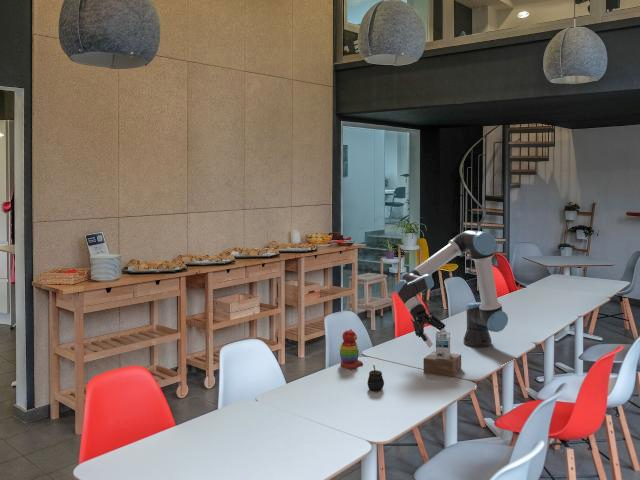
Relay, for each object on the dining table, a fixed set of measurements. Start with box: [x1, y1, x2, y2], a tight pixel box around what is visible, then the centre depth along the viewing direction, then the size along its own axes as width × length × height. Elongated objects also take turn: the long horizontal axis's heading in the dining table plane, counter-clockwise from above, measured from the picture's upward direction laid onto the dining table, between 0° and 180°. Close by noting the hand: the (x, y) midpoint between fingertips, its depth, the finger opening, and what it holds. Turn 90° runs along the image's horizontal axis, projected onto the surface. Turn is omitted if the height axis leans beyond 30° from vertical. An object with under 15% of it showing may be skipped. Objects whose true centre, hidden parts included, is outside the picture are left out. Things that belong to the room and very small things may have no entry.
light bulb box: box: [435, 331, 451, 360], centre depth 290 cm, size 11×7×11 cm, turn 168°
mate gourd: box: [366, 364, 385, 392], centre depth 267 cm, size 7×8×10 cm
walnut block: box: [423, 350, 462, 378], centre depth 291 cm, size 14×14×7 cm
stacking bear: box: [339, 328, 364, 370], centre depth 302 cm, size 11×10×18 cm
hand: (440, 343), depth 291 cm, fingers open, 13 cm apart
